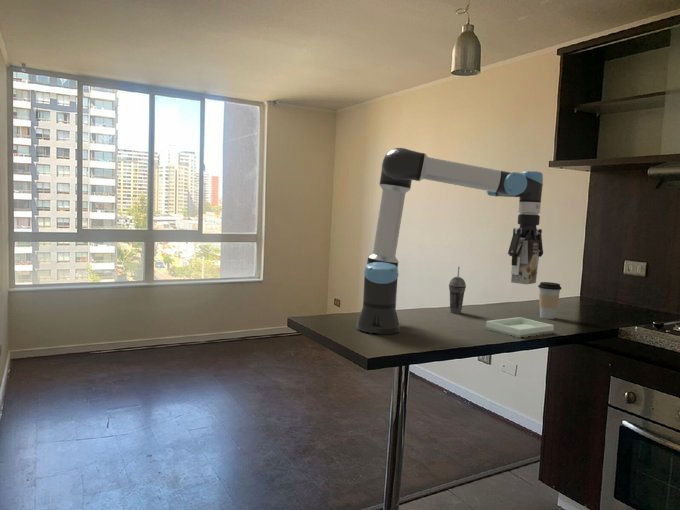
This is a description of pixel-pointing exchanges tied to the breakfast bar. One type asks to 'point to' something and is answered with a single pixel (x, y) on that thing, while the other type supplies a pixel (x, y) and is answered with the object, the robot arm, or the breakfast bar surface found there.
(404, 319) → the breakfast bar surface
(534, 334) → the sage tray
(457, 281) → the beverage cup
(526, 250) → the coffee box
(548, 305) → the coffee cup
